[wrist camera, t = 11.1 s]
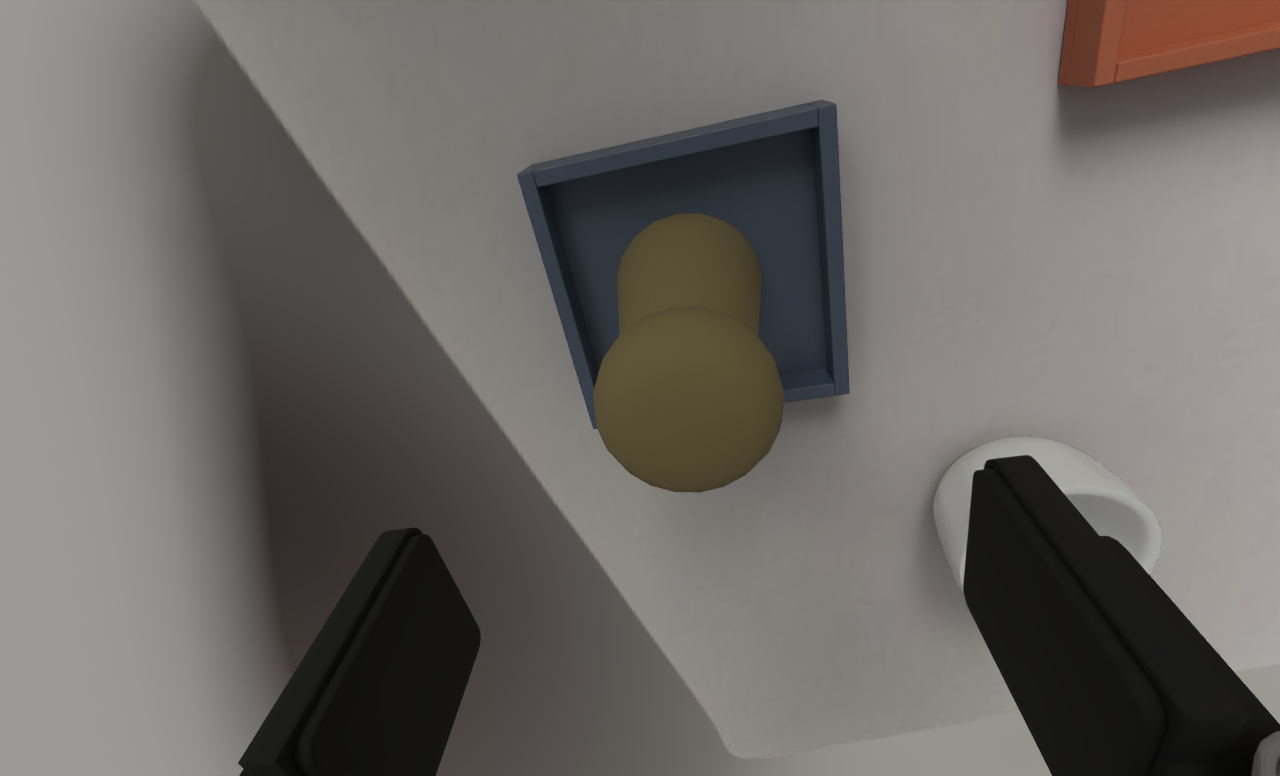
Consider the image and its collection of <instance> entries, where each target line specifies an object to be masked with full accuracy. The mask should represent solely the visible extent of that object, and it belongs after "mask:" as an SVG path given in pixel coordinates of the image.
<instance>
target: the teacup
mask: <svg viewBox="0 0 1280 776" xmlns="http://www.w3.org/2000/svg"><path fill="white" fill-rule="evenodd" d="M1021 455H1029V456H1032V457H1033V458H1034V459H1035V460H1036V461H1037V462H1038V463H1039V464H1040V466H1041V467H1042V468H1043V469H1044V470H1045V472H1046V473H1047V474H1048V475H1049V476H1050V477H1051V479H1052V480H1053V481H1054V482H1055V483H1056V485H1057V486H1058V487H1059V488H1060V489H1061V491H1062V492H1063V493H1064V494H1065V495H1066V496H1067V498H1068V499H1069V500H1070V501H1071V502H1072V504H1073V505H1074V506H1075V507H1076V508H1077V510H1078V511H1079V512H1080V513H1081V514H1082V516H1083V517H1084V518H1085V519H1086V520H1087V521H1088V523H1089V524H1090V525H1091V526H1092V527H1093V529H1094V530H1095V531H1096V532H1097V533H1098V535H1099V536H1110V537H1112V538H1114V539H1116V540H1118V541H1119V542H1120V543H1121V544H1122V545H1123V546H1124V547H1125V548H1126V549H1127V550H1128V551H1129V552H1130V553H1131V554H1132V556H1133V557H1134V558H1135V559H1136V560H1137V561H1138V563H1139V564H1140V565H1141V566H1142V567H1143V568H1144V569H1145V571H1146V572H1147V573H1148V574H1149V575H1150V574H1151V572H1152V571H1153V569H1154V567H1155V565H1156V563H1157V561H1158V559H1159V556H1160V552H1161V547H1162V534H1161V529H1160V526H1159V523H1158V521H1157V519H1156V517H1155V515H1154V514H1153V512H1152V511H1151V509H1150V508H1149V506H1148V505H1147V504H1146V503H1145V501H1144V500H1143V499H1142V498H1141V497H1140V496H1139V495H1138V494H1137V493H1136V492H1135V491H1133V490H1132V489H1131V488H1130V487H1129V486H1128V485H1127V484H1125V483H1124V482H1123V481H1122V480H1121V479H1119V478H1118V477H1117V476H1116V475H1114V474H1113V473H1112V472H1111V471H1109V470H1108V469H1107V468H1106V467H1104V466H1103V465H1102V464H1100V463H1099V462H1098V461H1096V460H1095V459H1093V458H1092V457H1090V456H1088V455H1087V454H1085V453H1083V452H1081V451H1079V450H1077V449H1075V448H1073V447H1070V446H1068V445H1066V444H1063V443H1060V442H1057V441H1054V440H1050V439H1046V438H1039V437H1025V436H1023V437H1009V438H1003V439H998V440H994V441H991V442H988V443H985V444H983V445H980V446H978V447H976V448H974V449H972V450H970V451H969V452H967V453H966V454H964V455H963V456H962V457H960V458H959V459H958V460H957V461H956V462H955V463H954V464H953V465H952V466H951V467H950V468H949V469H948V470H947V472H946V473H945V475H944V476H943V478H942V479H941V481H940V483H939V486H938V488H937V491H936V494H935V498H934V503H933V516H934V520H935V524H936V527H937V530H938V534H939V538H940V541H941V544H942V547H943V550H944V553H945V555H946V558H947V561H948V563H949V566H950V568H951V571H952V573H953V576H954V578H955V581H956V583H957V584H958V586H959V588H960V589H961V591H962V592H963V593H964V590H963V581H964V570H965V559H966V548H967V537H968V526H969V514H970V503H971V492H972V481H973V474H974V472H975V471H976V470H983V469H984V465H985V463H986V461H987V460H989V459H996V458H1004V457H1013V456H1021Z"/></svg>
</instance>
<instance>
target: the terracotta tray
mask: <svg viewBox="0 0 1280 776" xmlns="http://www.w3.org/2000/svg"><path fill="white" fill-rule="evenodd" d="M1279 48H1280V0H1068V5H1067V13H1066V21H1065V30H1064V38H1063V47H1062V55H1061V64H1060V72H1059V81H1058V84H1059V85H1070V86H1083V87H1099V86H1104V85H1108V84H1112V83H1118V82H1123V81H1127V80H1132V79H1137V78H1142V77H1146V76H1151V75H1156V74H1161V73H1165V72H1170V71H1175V70H1180V69H1184V68H1189V67H1194V66H1199V65H1203V64H1208V63H1213V62H1217V61H1222V60H1227V59H1232V58H1236V57H1241V56H1246V55H1251V54H1255V53H1260V52H1265V51H1270V50H1274V49H1279Z"/></svg>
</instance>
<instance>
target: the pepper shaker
mask: <svg viewBox="0 0 1280 776" xmlns="http://www.w3.org/2000/svg"><path fill="white" fill-rule="evenodd" d="M761 288H762V272H761V268H760V264H759V261H758V257H757V254H756V252H755V250H754V249H753V247H752V246H751V245H750V243H749V242H748V240H747V239H746V237H745V236H744V235H743V234H742V233H741V232H740V231H738V230H737V229H735V228H734V227H733V226H731V225H730V224H728V223H727V222H726V221H724V220H721V219H718V218H715V217H712V216H708V215H705V214H702V213H689V214H675V215H672V216H669V217H666V218H663V219H661V220H658V221H655V222H653V223H652V224H650V225H649V226H648V227H647V228H645V229H644V230H643V231H641V232H640V233H639V234H638V235H636V236H635V237H634V239H633V240H632V242H631V243H630V245H629V246H628V248H627V249H626V251H625V252H624V254H623V255H622V259H621V263H620V266H619V270H618V274H617V294H618V316H619V337H618V338H617V340H616V341H615V342H614V344H613V345H612V347H611V348H610V349H609V351H608V352H607V353H606V355H605V356H604V358H603V360H602V363H601V366H600V370H599V373H598V377H597V380H596V384H595V388H594V391H593V398H594V409H595V419H596V424H597V429H598V431H599V433H600V435H601V437H602V439H603V441H604V444H605V446H606V448H607V450H608V451H609V452H610V453H611V454H612V455H613V456H614V457H615V458H616V460H617V461H618V462H619V463H620V464H621V465H622V466H623V467H624V468H625V469H626V470H627V471H628V472H629V473H630V474H632V475H634V476H635V477H637V478H639V479H641V480H642V481H644V482H646V483H648V484H649V485H651V486H655V487H658V488H662V489H666V490H670V491H673V492H703V491H708V490H712V489H716V488H720V487H724V486H726V485H728V484H730V483H732V482H733V481H735V480H737V479H739V478H741V477H743V476H745V475H746V474H747V473H748V472H749V471H750V470H751V469H752V468H753V467H754V466H755V465H756V464H757V463H758V462H759V461H760V460H761V459H762V458H763V457H764V456H765V455H766V454H767V453H768V452H769V451H770V449H771V447H772V444H773V442H774V440H775V438H776V436H777V434H778V432H779V430H780V426H781V421H782V413H783V402H784V391H783V387H782V384H781V380H780V377H779V373H778V370H777V366H776V363H775V360H774V357H773V356H772V355H771V353H770V352H769V351H768V349H767V348H766V347H765V345H764V344H763V342H762V341H761V340H760V338H759V337H758V331H759V317H760V302H761Z"/></svg>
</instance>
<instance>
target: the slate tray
mask: <svg viewBox="0 0 1280 776" xmlns="http://www.w3.org/2000/svg"><path fill="white" fill-rule="evenodd" d="M517 177H518V180H519V183H520V187H521V190H522V193H523V197H524V200H525V203H526V207H527V210H528V213H529V216H530V220H531V223H532V226H533V230H534V233H535V236H536V240H537V243H538V246H539V250H540V253H541V256H542V260H543V263H544V266H545V270H546V273H547V276H548V280H549V283H550V286H551V290H552V293H553V296H554V300H555V303H556V306H557V310H558V313H559V316H560V320H561V323H562V326H563V330H564V333H565V336H566V339H567V343H568V346H569V349H570V353H571V356H572V359H573V363H574V366H575V369H576V373H577V376H578V379H579V383H580V386H581V389H582V393H583V396H584V399H585V403H586V406H587V409H588V413H589V416H590V419H591V423H592V426H593V429H597V424H596V419H595V409H594V398H593V391H594V388H595V384H596V380H597V377H598V373H599V370H600V366H601V363H602V360H603V358H604V356H605V355H606V353H607V352H608V351H609V349H610V348H611V347H612V345H613V344H614V342H615V341H616V340H617V338H618V337H619V316H618V294H617V274H618V270H619V266H620V263H621V259H622V255H623V254H624V252H625V251H626V249H627V248H628V246H629V245H630V243H631V242H632V240H633V239H634V237H635V236H636V235H638V234H639V233H640V232H641V231H643V230H644V229H645V228H647V227H648V226H649V225H650V224H652V223H653V222H655V221H658V220H661V219H663V218H666V217H669V216H672V215H675V214H689V213H702V214H705V215H708V216H712V217H715V218H718V219H721V220H724V221H726V222H727V223H728V224H730V225H731V226H733V227H734V228H735V229H737V230H738V231H740V232H741V233H742V234H743V235H744V236H745V237H746V239H747V240H748V242H749V243H750V245H751V246H752V247H753V249H754V250H755V252H756V254H757V257H758V261H759V264H760V268H761V272H762V288H761V302H760V317H759V331H758V337H759V338H760V340H761V341H762V342H763V344H764V345H765V347H766V348H767V349H768V351H769V352H770V353H771V355H772V356H773V357H774V360H775V363H776V366H777V370H778V373H779V377H780V380H781V384H782V387H783V391H784V402H783V403H785V402H792V401H799V400H806V399H813V398H820V397H828V396H834V395H842V394H849V370H848V349H847V327H846V305H845V284H844V262H843V240H842V219H841V197H840V175H839V154H838V132H837V110H836V104H835V103H832V102H829V101H825V100H819V101H815V102H810V103H806V104H801V105H797V106H792V107H788V108H784V109H779V110H775V111H770V112H766V113H761V114H757V115H752V116H748V117H743V118H739V119H734V120H730V121H725V122H721V123H716V124H712V125H708V126H703V127H699V128H694V129H690V130H685V131H681V132H676V133H672V134H667V135H663V136H658V137H654V138H649V139H645V140H641V141H636V142H632V143H627V144H623V145H618V146H614V147H609V148H605V149H600V150H596V151H591V152H587V153H582V154H578V155H573V156H569V157H565V158H560V159H556V160H551V161H547V162H542V163H538V164H533V165H531V166H529V167H527V168H526V169H524V170H523V171H522V172H520V173H519V174H517Z"/></svg>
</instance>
